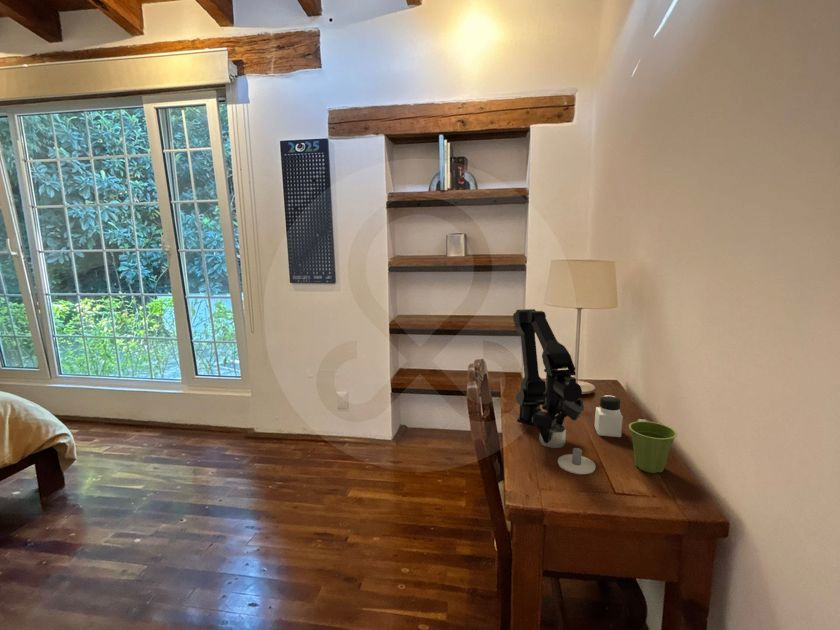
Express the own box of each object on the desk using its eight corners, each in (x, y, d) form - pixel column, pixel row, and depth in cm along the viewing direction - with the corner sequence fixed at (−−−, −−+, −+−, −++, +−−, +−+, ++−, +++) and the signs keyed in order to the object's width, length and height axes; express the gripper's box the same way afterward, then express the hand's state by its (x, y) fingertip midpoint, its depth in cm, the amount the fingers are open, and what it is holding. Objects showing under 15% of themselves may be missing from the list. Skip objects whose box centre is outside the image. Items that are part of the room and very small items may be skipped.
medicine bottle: (621, 437, 143) (624, 402, 141) (598, 435, 145) (600, 400, 142) (616, 428, 150) (619, 394, 148) (594, 426, 151) (596, 392, 149)
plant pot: (665, 459, 129) (669, 422, 127) (678, 480, 118) (683, 441, 116) (621, 454, 132) (624, 418, 130) (630, 475, 121) (634, 436, 119)
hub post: (552, 466, 125) (553, 451, 124) (565, 453, 133) (566, 438, 132) (588, 478, 119) (589, 462, 118) (600, 463, 127) (601, 448, 126)
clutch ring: (536, 443, 139) (537, 428, 138) (546, 435, 145) (546, 420, 144) (558, 450, 135) (559, 434, 134) (567, 441, 140) (568, 426, 139)
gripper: (569, 405, 125) (565, 457, 127) (592, 387, 139) (588, 434, 141) (532, 396, 132) (529, 445, 134) (557, 380, 146) (554, 425, 148)
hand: (552, 437), depth 139 cm, fingers open, 9 cm apart
